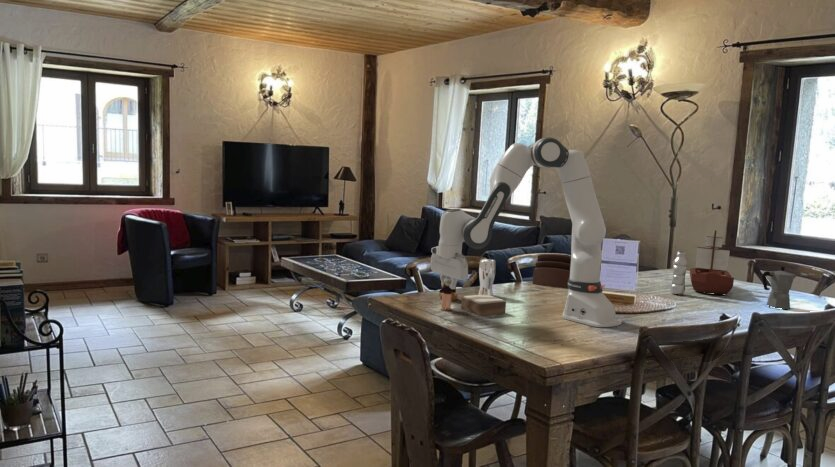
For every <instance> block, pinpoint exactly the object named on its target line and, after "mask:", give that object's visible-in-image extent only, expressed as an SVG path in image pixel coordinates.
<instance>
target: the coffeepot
mask: <svg viewBox="0 0 835 467" xmlns="http://www.w3.org/2000/svg"><path fill="white" fill-rule="evenodd" d="M785 268H786V267H785V266H780V270H773V271H764V272H763V273H762V274H761V280H762V284H763V289H764V290H765V291H770V292H769V295H768V299H767V302H766V306H767V305H769V306H772V307H775V308H782V309H789V310H791V302H790V301H791V300H790V299H791V298H790V290H791V288H792V285H793V282H794V279H795V278H796V277H798V274H795V273H792V272H788V271H786V270H785ZM767 277H770V287H769V288H768V283H767ZM770 288H771V290H770Z"/></svg>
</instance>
